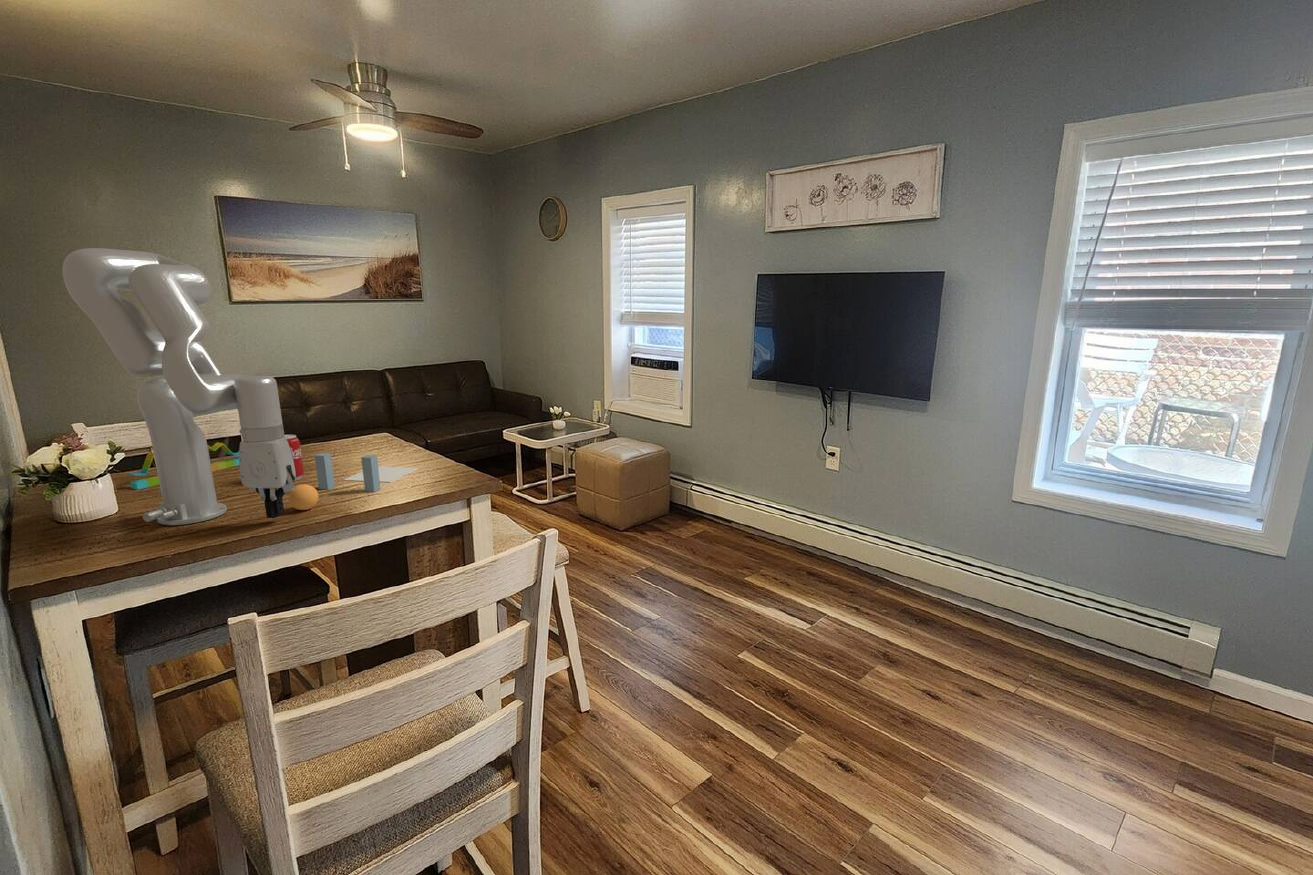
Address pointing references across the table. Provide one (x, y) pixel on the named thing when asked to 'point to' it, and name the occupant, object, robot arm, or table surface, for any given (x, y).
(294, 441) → the beverage can
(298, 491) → the ball
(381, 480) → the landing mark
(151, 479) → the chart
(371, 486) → the right post
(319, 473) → the left post
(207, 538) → the table surface
